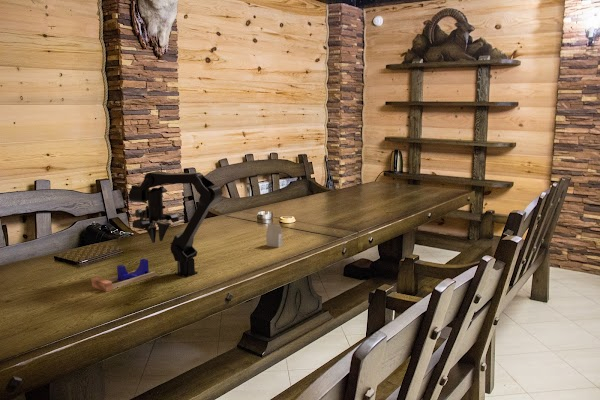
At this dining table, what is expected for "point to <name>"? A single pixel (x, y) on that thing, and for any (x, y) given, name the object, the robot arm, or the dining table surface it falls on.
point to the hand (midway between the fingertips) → (157, 241)
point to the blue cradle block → (140, 271)
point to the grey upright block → (274, 236)
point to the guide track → (107, 283)
